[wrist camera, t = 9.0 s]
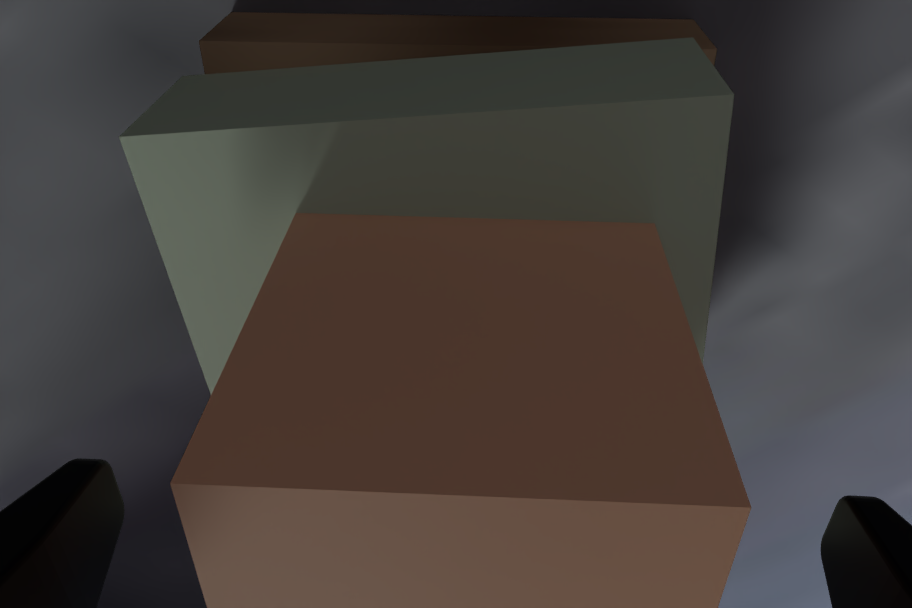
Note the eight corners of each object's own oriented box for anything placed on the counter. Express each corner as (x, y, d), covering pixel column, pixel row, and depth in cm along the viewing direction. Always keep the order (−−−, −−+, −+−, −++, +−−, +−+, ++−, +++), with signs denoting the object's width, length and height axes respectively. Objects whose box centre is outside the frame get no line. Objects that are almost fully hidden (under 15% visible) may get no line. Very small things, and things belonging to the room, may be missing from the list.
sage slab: (288, 437, 17) (258, 529, 15) (182, 76, 12) (119, 136, 10) (660, 425, 16) (684, 521, 14) (693, 37, 12) (733, 94, 10)
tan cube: (327, 463, 14) (252, 760, 10) (295, 212, 11) (170, 482, 7) (610, 474, 13) (658, 782, 9) (655, 222, 11) (750, 507, 7)
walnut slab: (293, 348, 19) (268, 419, 17) (242, 2, 14) (199, 40, 12) (627, 358, 18) (643, 432, 16) (684, 8, 14) (716, 49, 12)
